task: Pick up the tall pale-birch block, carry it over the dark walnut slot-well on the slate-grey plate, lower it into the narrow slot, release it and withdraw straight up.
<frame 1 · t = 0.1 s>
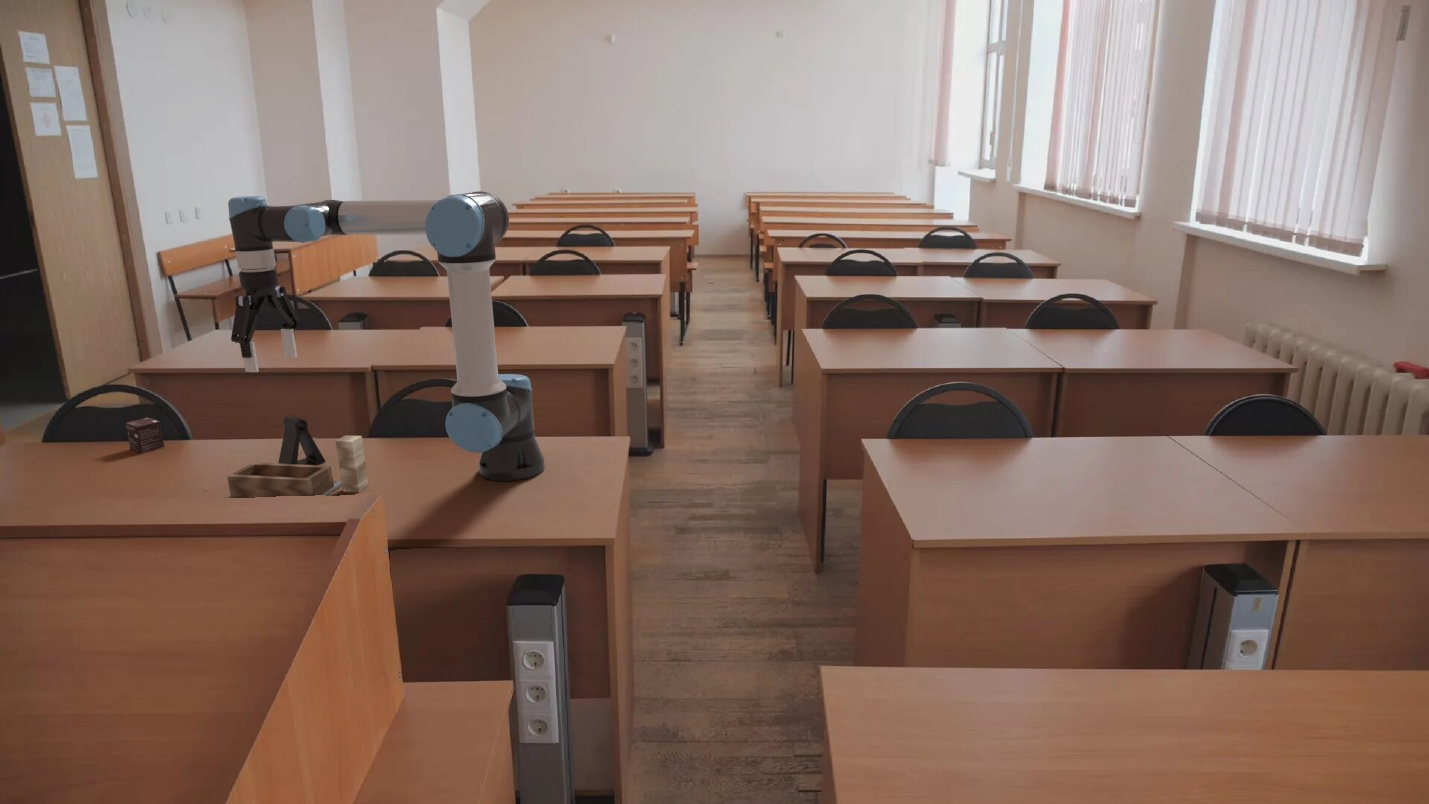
hand: (272, 364, 210), 28 cm above the table, fingers open, 13 cm apart
well: (283, 495, 209), on the table
birch block: (355, 488, 212), on the table
door stopper: (302, 465, 228), on the table
box: (147, 449, 243), on the table
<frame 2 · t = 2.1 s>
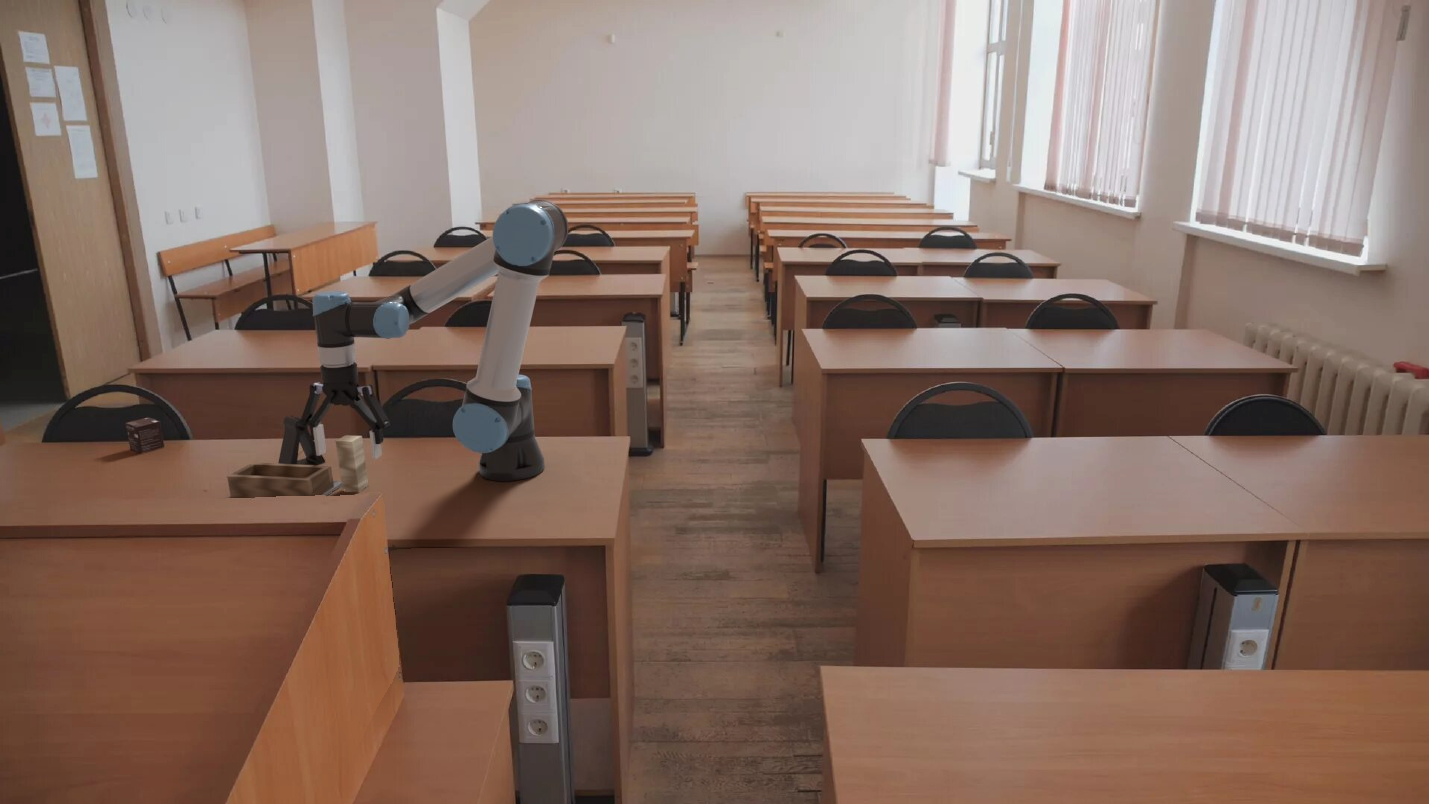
hand: (349, 455, 210), 8 cm above the table, fingers open, 13 cm apart
nothing on the table moved.
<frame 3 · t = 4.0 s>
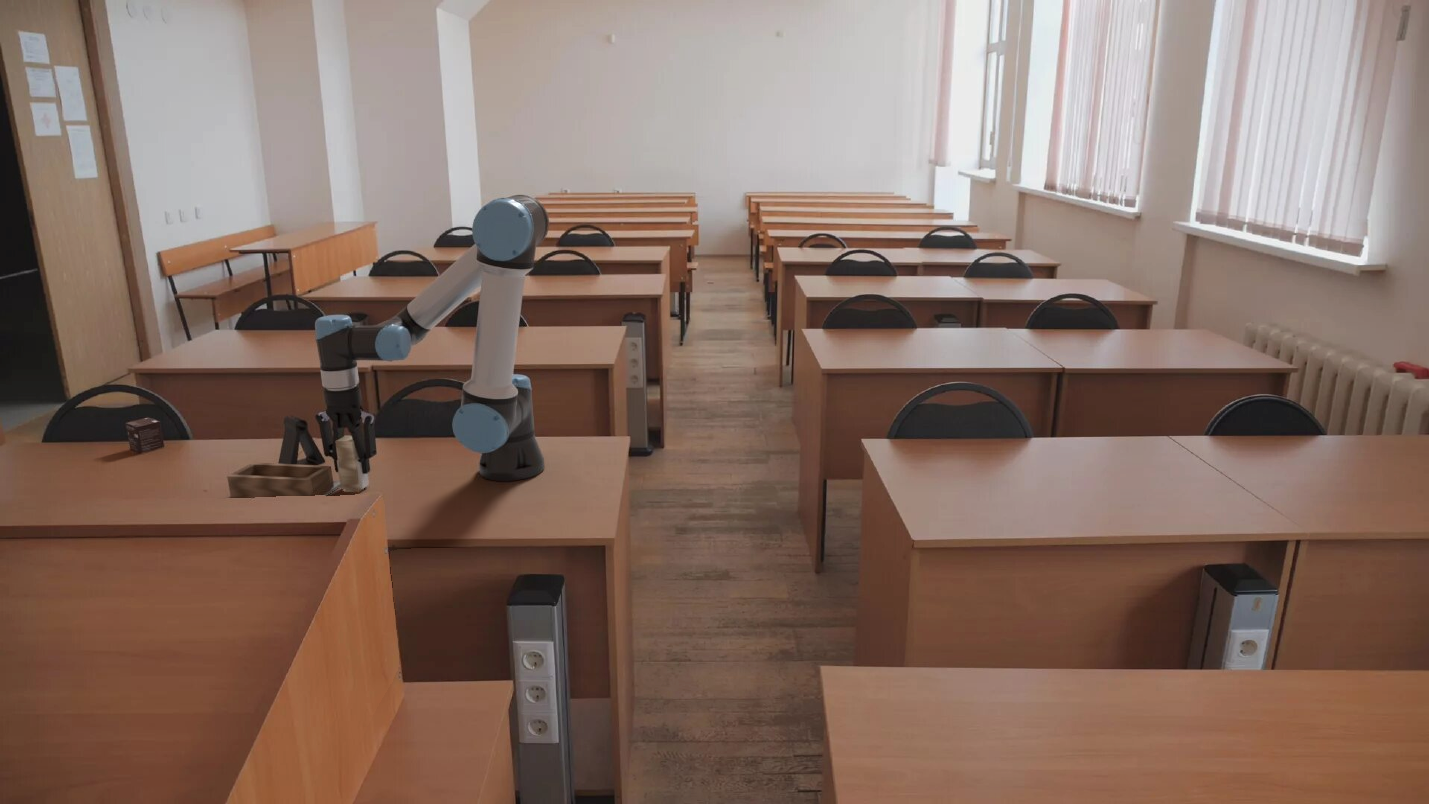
hand: (354, 485, 212), 1 cm above the table, fingers closed on birch block, 4 cm apart
birch block: (355, 488, 212), on the table, touching gripper
everything else where it was.
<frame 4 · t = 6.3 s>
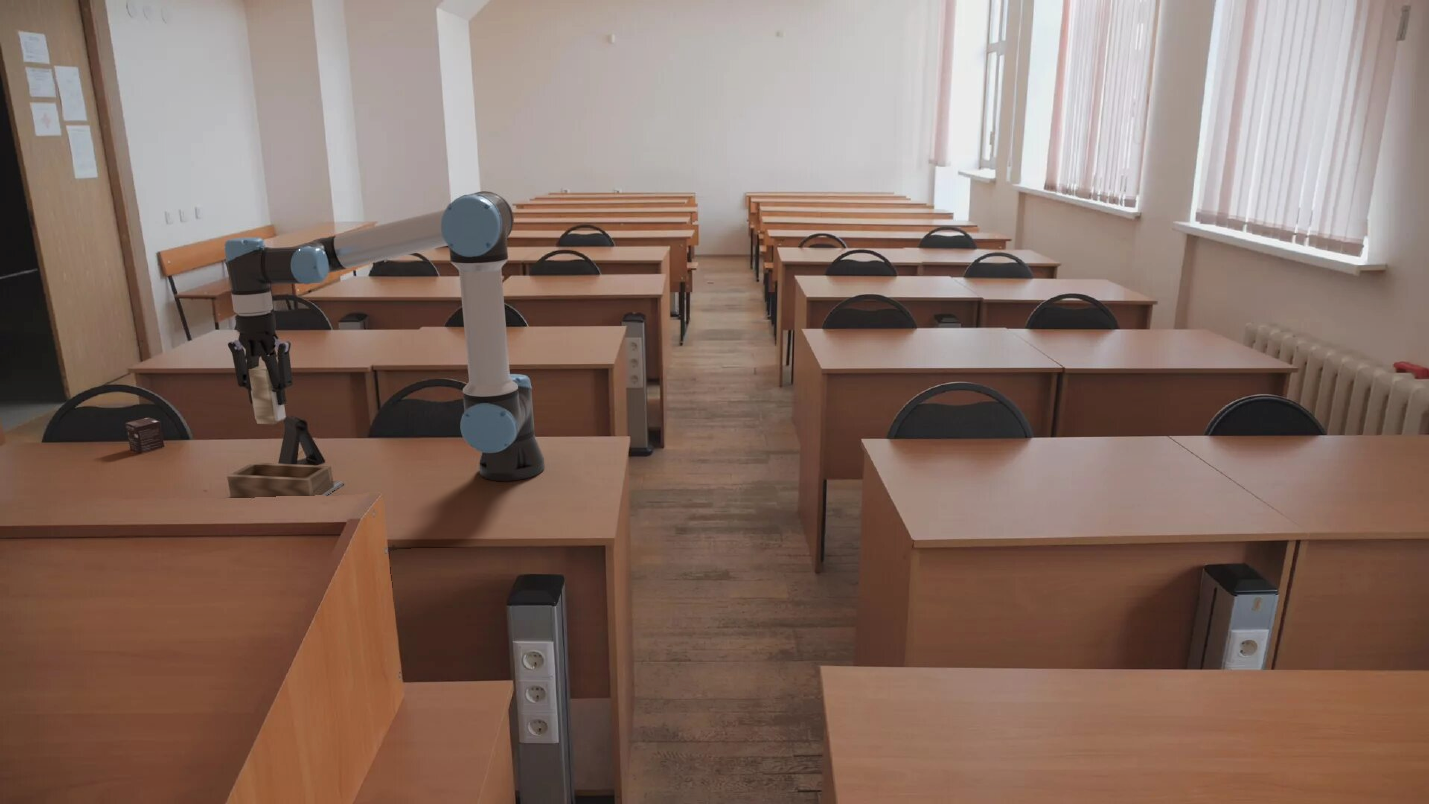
hand: (270, 418, 204), 18 cm above the table, fingers closed on birch block, 4 cm apart
birch block: (271, 421, 204), point 17 cm above the table, touching gripper
everything else where it was.
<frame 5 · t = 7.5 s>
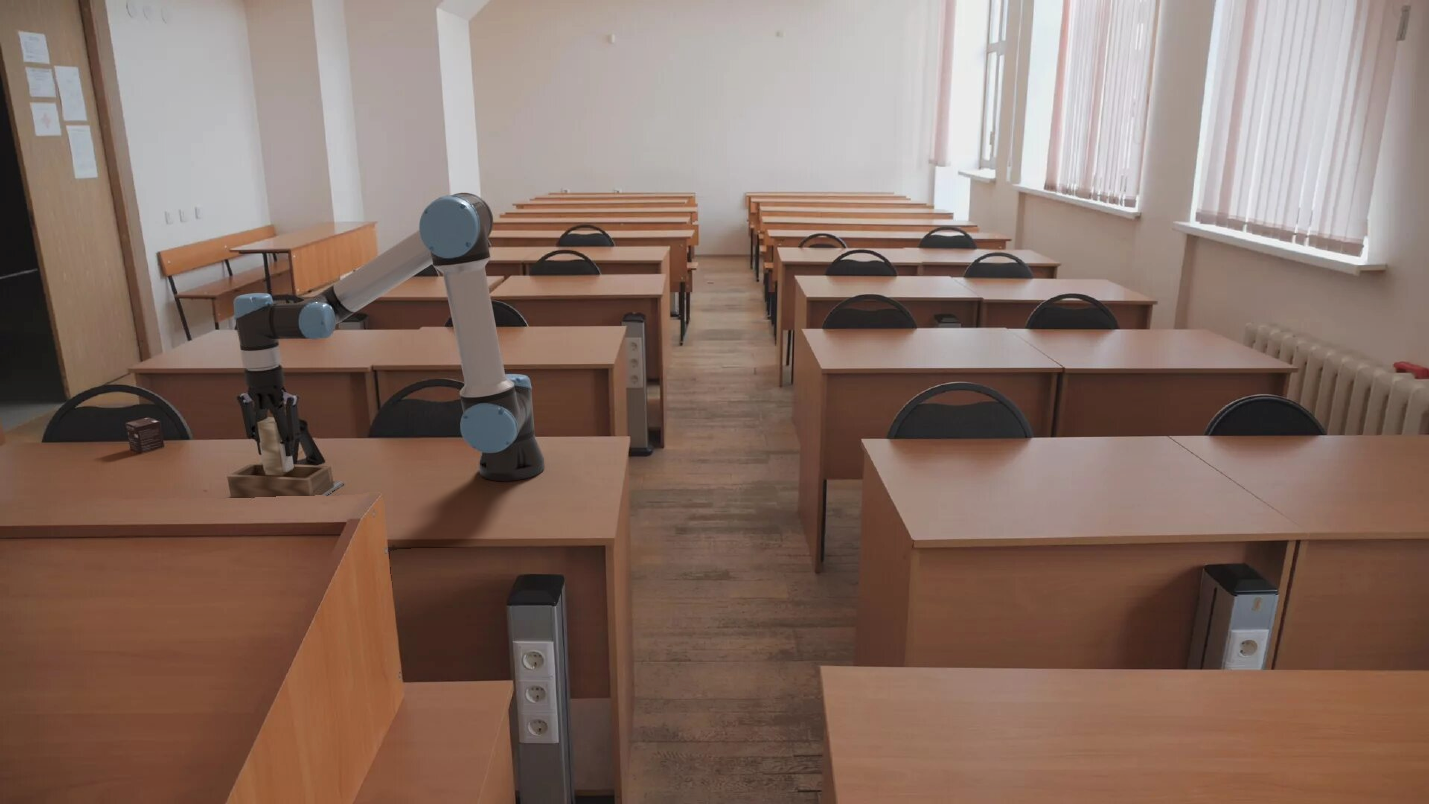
hand: (279, 468, 207), 6 cm above the table, fingers closed on birch block, 4 cm apart
birch block: (279, 471, 207), point 6 cm above the table, touching gripper
everything else where it was.
when the fingers open (3 cm above the table, at t = 8.7 s): birch block drops 1 cm, resting on well.
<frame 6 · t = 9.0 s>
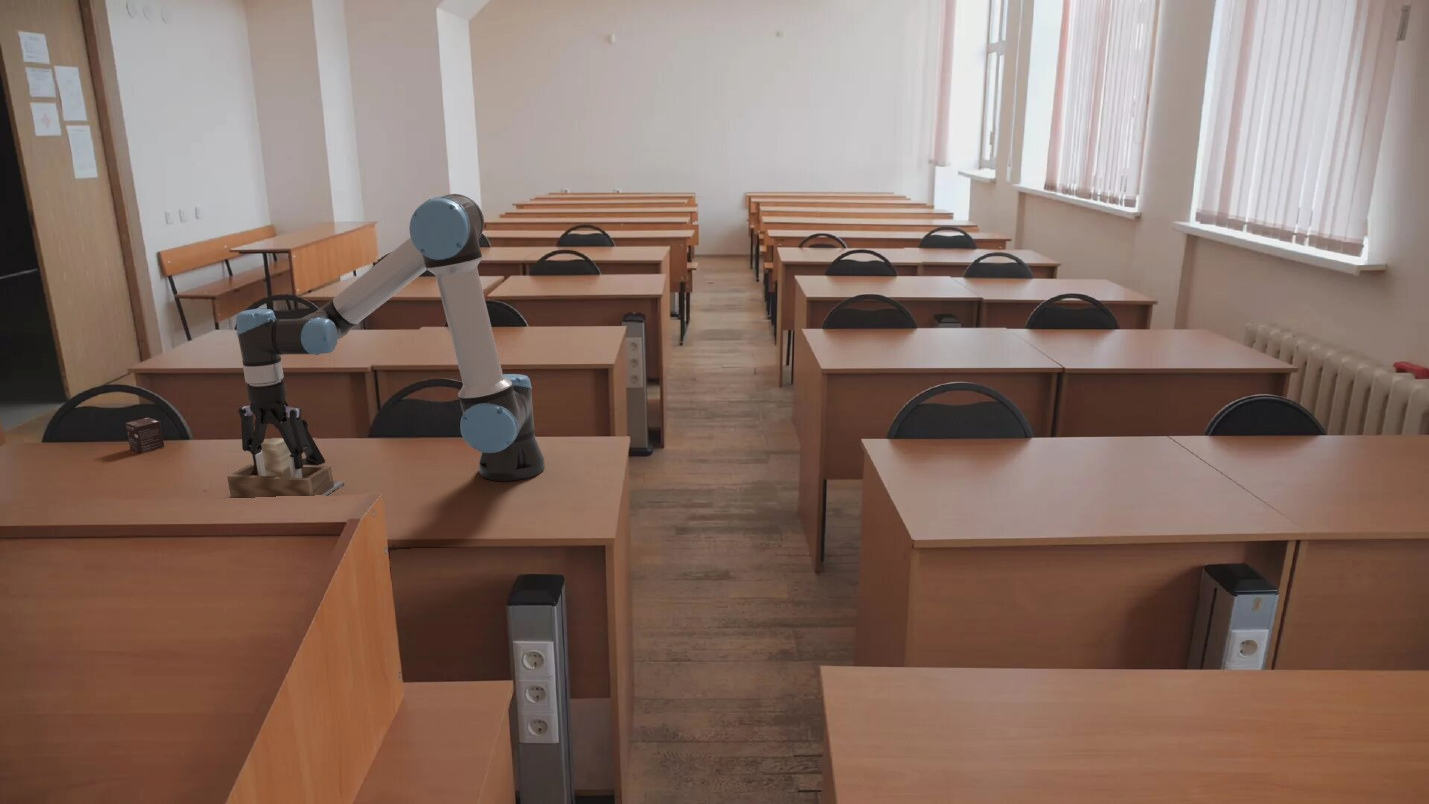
hand: (281, 481, 208), 3 cm above the table, fingers open, 7 cm apart
birch block: (283, 492, 209), point 1 cm above the table, touching well
everything else where it was.
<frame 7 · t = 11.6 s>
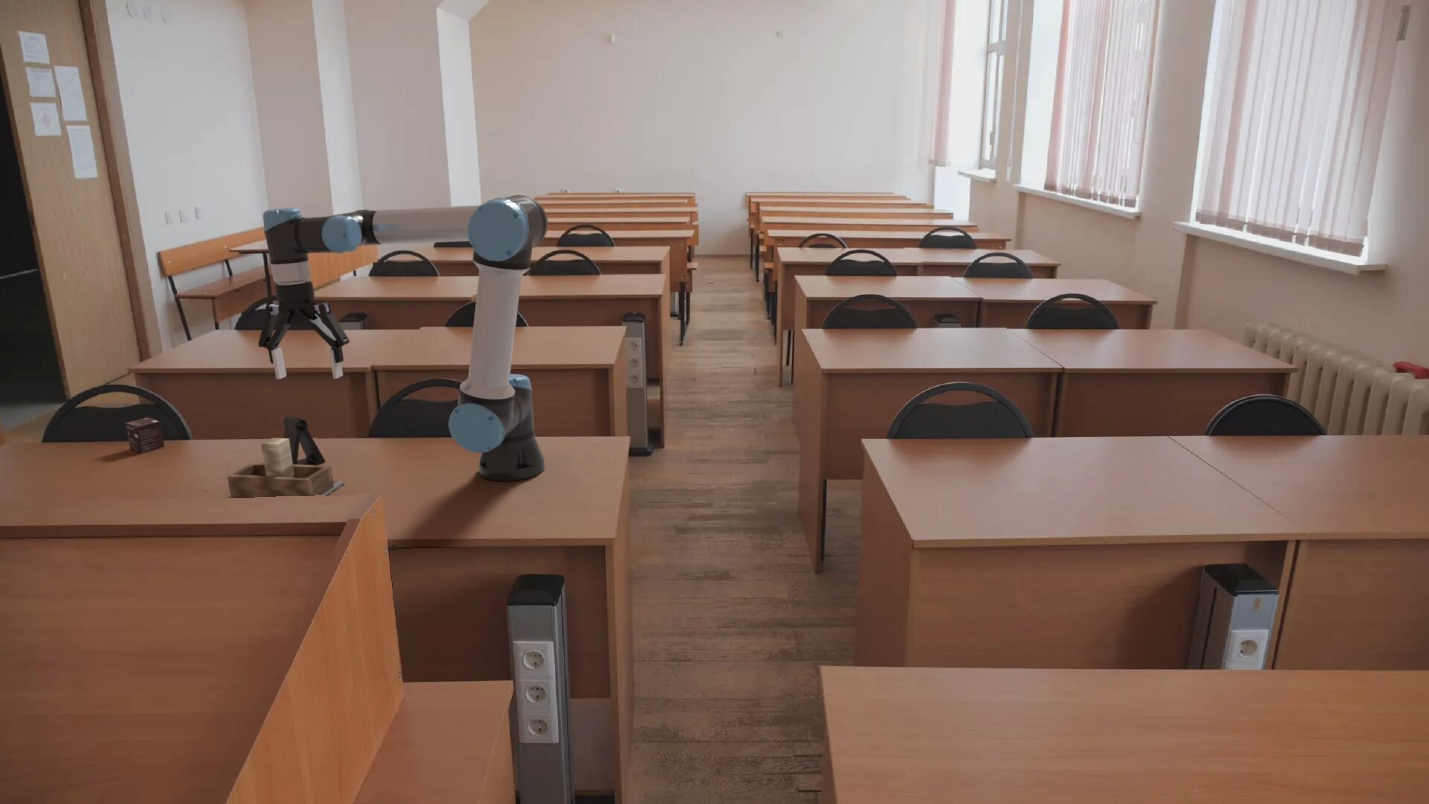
hand: (309, 377, 208), 25 cm above the table, fingers open, 13 cm apart
nothing on the table moved.
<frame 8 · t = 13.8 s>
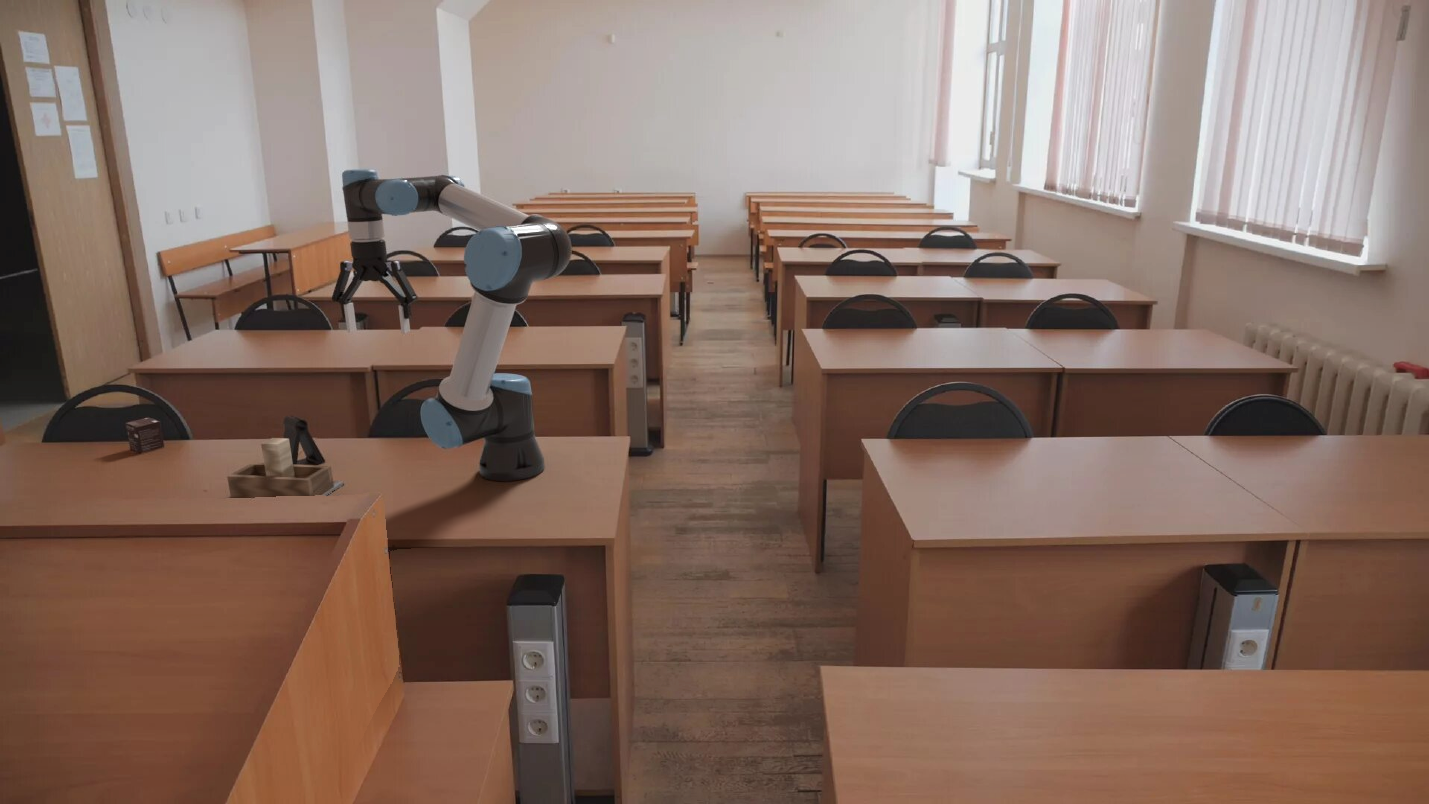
hand: (378, 332, 218), 33 cm above the table, fingers open, 13 cm apart
nothing on the table moved.
at the end: birch block inside the target area on the well (0.0 cm from its centre), point 0.8 cm above the well's base; birch block tilted 0°; the gripper is holding nothing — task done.
